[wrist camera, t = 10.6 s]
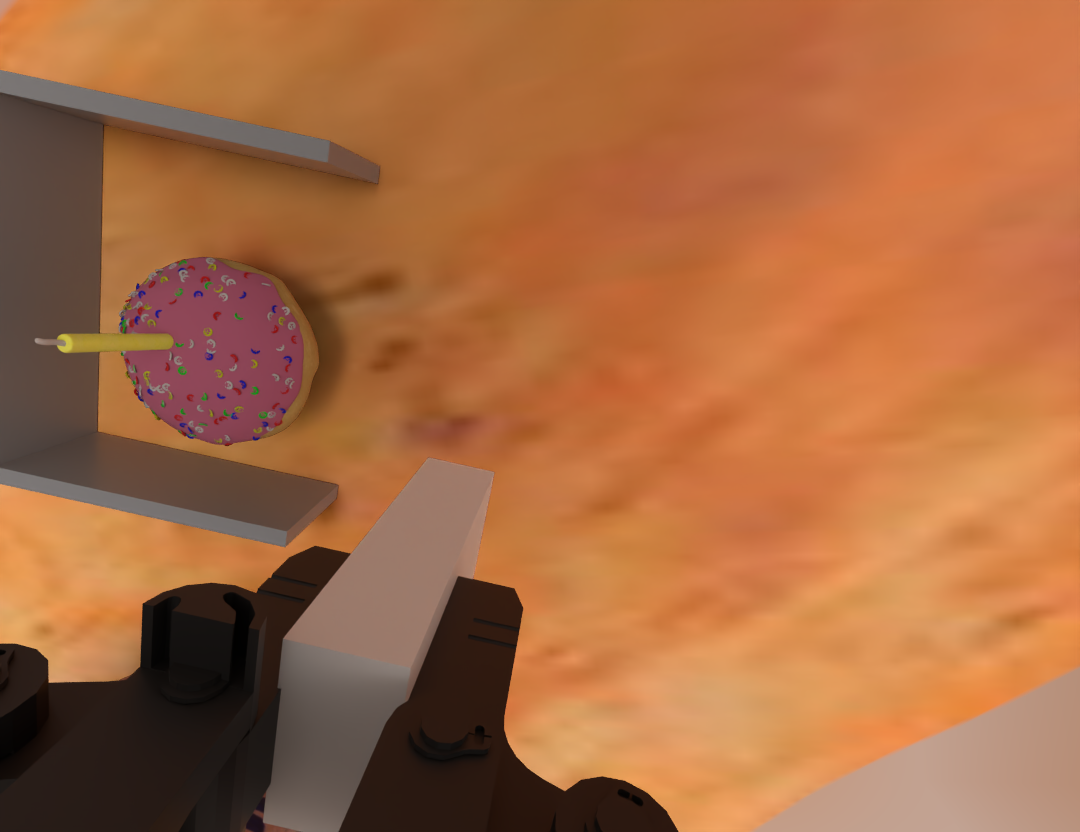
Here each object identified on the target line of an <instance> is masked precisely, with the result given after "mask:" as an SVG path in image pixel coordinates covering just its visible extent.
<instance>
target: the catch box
mask: <svg viewBox="0 0 1080 832" xmlns="http://www.w3.org/2000/svg"><path fill="white" fill-rule="evenodd" d="M103 125H107V126H112V127H117V128H121V129H126V130H131V131H135V132H140V133H145V134H149V135H154V136H158V137H163V138H168V139H172V140H177V141H182V142H186V143H191V144H196V145H200V146H205V147H210V148H214V149H219V150H223V151H228V152H233V153H237V154H242V155H247V156H251V157H256V158H261V159H265V160H270V161H274V162H279V163H284V164H288V165H293V166H298V167H302V168H307V169H312V170H316V171H321V172H326V173H330V174H335V175H339V176H344V177H349V178H353V179H358V180H363V181H367V182H372V183H377V184H378V179H379V171H380V166H378V165H376V164H374V163H372V162H370V161H368V160H366V159H364V158H362V157H361V156H359V155H357V154H355V153H353V152H351V151H349V150H347V149H345V148H343V147H341V146H339V145H337V144H335V143H333V142H331V141H328V140H324V139H319V138H314V137H310V136H305V135H300V134H296V133H291V132H286V131H282V130H277V129H272V128H268V127H263V126H258V125H254V124H249V123H245V122H240V121H235V120H231V119H226V118H221V117H217V116H212V115H207V114H203V113H198V112H193V111H189V110H184V109H179V108H175V107H170V106H165V105H161V104H156V103H151V102H147V101H142V100H138V99H133V98H128V97H124V96H119V95H114V94H110V93H105V92H100V91H96V90H91V89H86V88H82V87H77V86H72V85H68V84H63V83H58V82H54V81H49V80H44V79H40V78H35V77H31V76H26V75H21V74H17V73H12V72H7V71H3V70H0V484H3V485H8V486H12V487H17V488H21V489H26V490H30V491H35V492H39V493H44V494H48V495H53V496H57V497H62V498H66V499H71V500H75V501H80V502H84V503H89V504H93V505H98V506H102V507H107V508H111V509H116V510H120V511H125V512H129V513H134V514H138V515H143V516H147V517H152V518H156V519H161V520H165V521H170V522H174V523H179V524H183V525H188V526H192V527H197V528H201V529H206V530H210V531H215V532H219V533H224V534H228V535H233V536H237V537H242V538H246V539H251V540H255V541H260V542H264V543H269V544H273V545H278V546H282V547H286V546H287V545H288V544H289V543H290V542H291V541H292V540H293V539H294V538H295V537H296V536H298V535H299V534H300V533H301V532H302V531H303V530H304V529H305V528H306V527H307V526H308V525H309V524H310V523H311V522H312V521H313V520H314V519H315V518H316V517H317V516H319V515H320V514H321V513H322V512H323V511H324V510H325V509H326V508H327V507H328V506H329V505H330V504H331V503H332V502H333V501H334V500H335V499H336V498H337V492H338V485H336V484H332V483H327V482H322V481H318V480H313V479H309V478H304V477H300V476H295V475H291V474H286V473H282V472H277V471H273V470H268V469H264V468H259V467H255V466H250V465H245V464H241V463H236V462H232V461H227V460H223V459H218V458H214V457H209V456H205V455H200V454H196V453H191V452H187V451H182V450H178V449H173V448H168V447H164V446H159V445H155V444H150V443H146V442H141V441H137V440H132V439H128V438H123V437H119V436H114V435H110V434H105V433H101V432H97V415H98V365H99V352H79V353H64V352H62V351H60V350H59V349H58V347H57V345H41V344H37V343H36V342H35V339H36V338H41V339H57V338H58V336H59V335H61V334H99V315H100V265H101V215H102V165H103Z"/></svg>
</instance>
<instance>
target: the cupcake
mask: <svg viewBox="0 0 1080 832" xmlns="http://www.w3.org/2000/svg"><path fill="white" fill-rule="evenodd" d="M155 271H157V272H156V273H150V274H149V278H147V279H146V281H145V282H144V283H143V284H142V285H141V286H140V287H139V284H137V286H136V291H134V292H131V293H130V294H129V295H128V296H129V297H130V296H132V297H131V299H129V300H126V301H125V302H128V301H130V302H129V303H127V304H125V305H124V307H123V309H124V310H121V311H120V313H119V316H120V317H122V318H121V321H122V322H120V324H119V332H121V333H122V334H61V335H59V336H58V338H57V339H41V338H36V339H35V342H36V343H37V344H41V345H57V347H58V349H59V350H60V351H62V352H64V353H79V352H108V351H121V356H124V360H125V364H126V367H127V370H128V371H127V372H126V373H125V374H126V376H127V377H128V378H130V379H131V380H132V384H133V385H134V387H136V389H135V390H134V393H135V394H136V395H137V396H138V398H139V400H140V401H142V402H144V405H145V406H146V408H150V409H151V411H152V412H153V414H154V415H155V418H156V419H157V420H160V419H162V420H163V421H165V422H166V423H167V424H169V425H170V426H172V427H173V428H175V429H177V430H178V431H179V432H180V433H181V434H183V435H184V436H186V435H187V437H188V438H191V439H193V438H197V439H200V440H203V441H206V442H209V443H213V444H218V445H225V446H229V445H231V444H233V443H238V442H244V441H251V440H258V439H261V438H266V437H269V436H272V435H275V434H277V433H279V432H281V431H283V430H284V429H286V428H287V427H288V426H289V425H290V424H291V423H292V422H293V421H294V420H295V419H296V418H297V417H298V416H299V414H300V412H301V410H302V408H303V407H304V405H305V403H306V401H307V398H308V396H309V392H310V388H311V384H312V380H313V378H314V375H315V373H316V371H317V369H318V366H319V354H318V346H317V342H316V339H315V336H314V334H313V331H312V328H311V326H310V324H309V322H308V320H307V318H306V317H305V315H304V313H303V312H302V310H301V308H300V307H299V305H298V304H297V302H296V300H295V299H294V297H293V296H292V294H291V293H290V291H289V290H288V288H287V287H286V285H285V284H284V283H283V282H282V281H281V280H280V279H279V278H277V277H276V276H274V275H272V274H269V273H266V272H264V271H261V270H259V269H256V268H254V267H251V266H249V265H246V264H243V263H239V262H235V261H231V260H227V259H221V258H210V257H199V258H191V259H186V260H185V259H184V260H181V261H178V262H175V263H172V264H170V265H168V266H166V267H164V268H163V269H156V270H155ZM126 306H127V307H126ZM122 312H123V314H121V313H122ZM124 312H125V313H124ZM124 314H125V315H124ZM128 374H129V376H128ZM136 391H137V392H138V393H136ZM140 397H141V398H143V400H142V399H141V398H140ZM156 415H157V416H158V418H157V416H156ZM191 436H192V437H191Z"/></svg>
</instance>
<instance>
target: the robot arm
mask: <svg viewBox="0 0 1080 832" xmlns="http://www.w3.org/2000/svg"><path fill="white" fill-rule="evenodd" d="M494 473H495V472H492V471H488V470H483V469H479V468H474V467H470V466H465V465H461V464H456V463H452V462H447V461H443V460H438V459H434V458H429V457H428V458H427V460H426V461H425V462H424V463H423V465H422V466H421V467H420V468H419V470H418V471H417V472H416V473H415V475H414V476H413V477H412V478H411V480H410V481H409V482H408V483H407V485H406V486H405V487H404V488H403V490H402V491H401V492H400V493H399V495H398V496H397V497H396V498H395V500H394V501H393V502H392V503H391V505H390V506H389V507H388V508H387V510H386V511H385V512H384V513H383V515H382V516H381V517H380V518H379V520H378V521H377V522H376V523H375V525H374V526H373V527H372V528H371V530H370V531H369V532H368V533H367V535H366V536H365V537H364V538H363V540H362V541H361V542H360V543H359V545H358V546H357V547H356V548H355V550H354V551H353V552H352V553H351V554H350V553H345V552H341V551H336V550H332V549H327V548H323V547H319V546H314V547H311V548H309V549H307V550H305V551H303V552H300V553H298V554H296V555H294V556H291V557H289V558H288V559H287V560H286V561H285V562H284V563H283V564H282V565H281V566H280V567H279V568H278V569H277V570H276V571H275V572H274V573H273V574H272V577H271V578H268V579H267V580H266V581H265V582H264V583H263V584H262V585H261V586H260V587H259V588H258V591H257V593H255V592H251V591H249V590H246V589H244V588H241V587H238V586H236V585H227V584H218V583H206V584H195V585H186V586H183V587H180V588H176V589H173V590H169V591H166V592H163V593H161V594H159V595H157V596H156V597H154V598H152V599H150V600H148V601H147V602H145V603H143V610H142V637H141V664H140V668H138V669H137V670H136V671H135V672H134V673H133V674H132V675H131V676H130V677H129V678H127V679H126V680H120V681H109V682H62V683H48V660H47V659H46V658H45V657H44V656H43V655H42V654H41V653H40V652H39V651H38V650H37V649H33V648H30V647H26V646H22V645H18V644H0V832H245V831H246V824H247V822H248V820H249V819H250V817H251V815H252V814H253V812H254V811H255V809H256V807H257V806H258V804H259V802H260V801H261V799H262V797H263V796H264V794H265V792H266V799H265V808H264V817H263V823H267V824H271V825H275V826H279V827H284V828H288V829H292V830H297V831H301V832H678V830H677V828H676V827H675V825H674V823H673V822H672V820H671V818H670V816H669V815H668V813H667V811H666V810H665V809H664V808H663V807H662V806H661V805H659V804H658V803H657V802H656V801H655V800H654V799H653V798H652V797H651V796H650V795H649V794H648V793H647V792H645V791H643V790H641V789H639V788H637V787H635V786H633V785H632V784H630V783H628V782H626V781H623V780H618V779H613V778H607V777H596V778H590V779H584V780H580V781H579V782H578V783H576V784H575V785H573V786H572V787H570V788H569V789H568V790H566V791H563V790H562V789H560V788H558V787H556V786H554V785H553V784H551V783H549V782H547V781H545V780H544V779H542V778H541V777H539V776H538V775H536V774H535V773H533V772H532V771H530V770H529V769H528V768H527V767H526V766H525V765H524V764H523V763H522V762H521V761H520V760H519V759H518V758H517V757H516V755H515V754H514V752H513V750H512V749H511V747H510V745H509V744H508V741H507V738H506V734H505V731H504V715H505V709H506V703H507V698H508V692H509V686H510V680H511V675H512V669H513V663H514V658H515V652H516V646H517V641H518V635H519V629H520V624H521V618H522V612H523V607H522V604H521V602H520V600H519V598H518V595H517V593H516V591H515V589H514V588H510V587H505V586H501V585H497V584H492V583H488V582H483V581H479V580H474V579H473V577H474V572H475V567H476V562H477V557H478V552H479V547H480V542H481V537H482V532H483V527H484V522H485V518H486V513H487V508H488V503H489V498H490V493H491V488H492V483H493V478H494Z"/></svg>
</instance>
